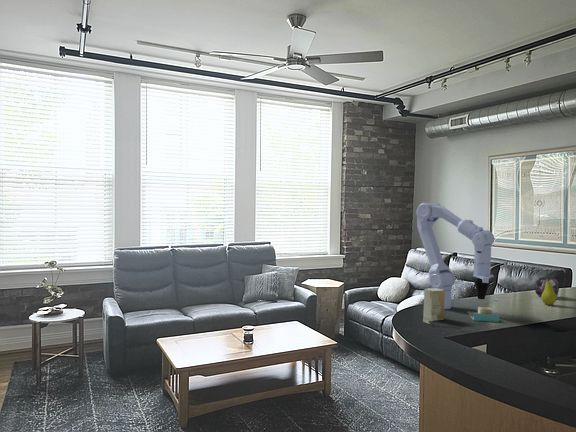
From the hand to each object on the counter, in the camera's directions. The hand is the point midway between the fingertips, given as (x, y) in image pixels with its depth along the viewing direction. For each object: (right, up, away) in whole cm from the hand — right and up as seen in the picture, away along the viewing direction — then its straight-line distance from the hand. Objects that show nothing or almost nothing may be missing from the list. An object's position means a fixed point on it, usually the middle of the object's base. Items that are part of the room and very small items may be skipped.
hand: (481, 299), depth 173 cm
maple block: (-1, -6, -6) cm, 9 cm away
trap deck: (0, -8, -2) cm, 8 cm away
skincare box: (-20, -8, -6) cm, 22 cm away
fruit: (+40, -8, +27) cm, 49 cm away
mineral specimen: (+49, -7, +44) cm, 67 cm away
